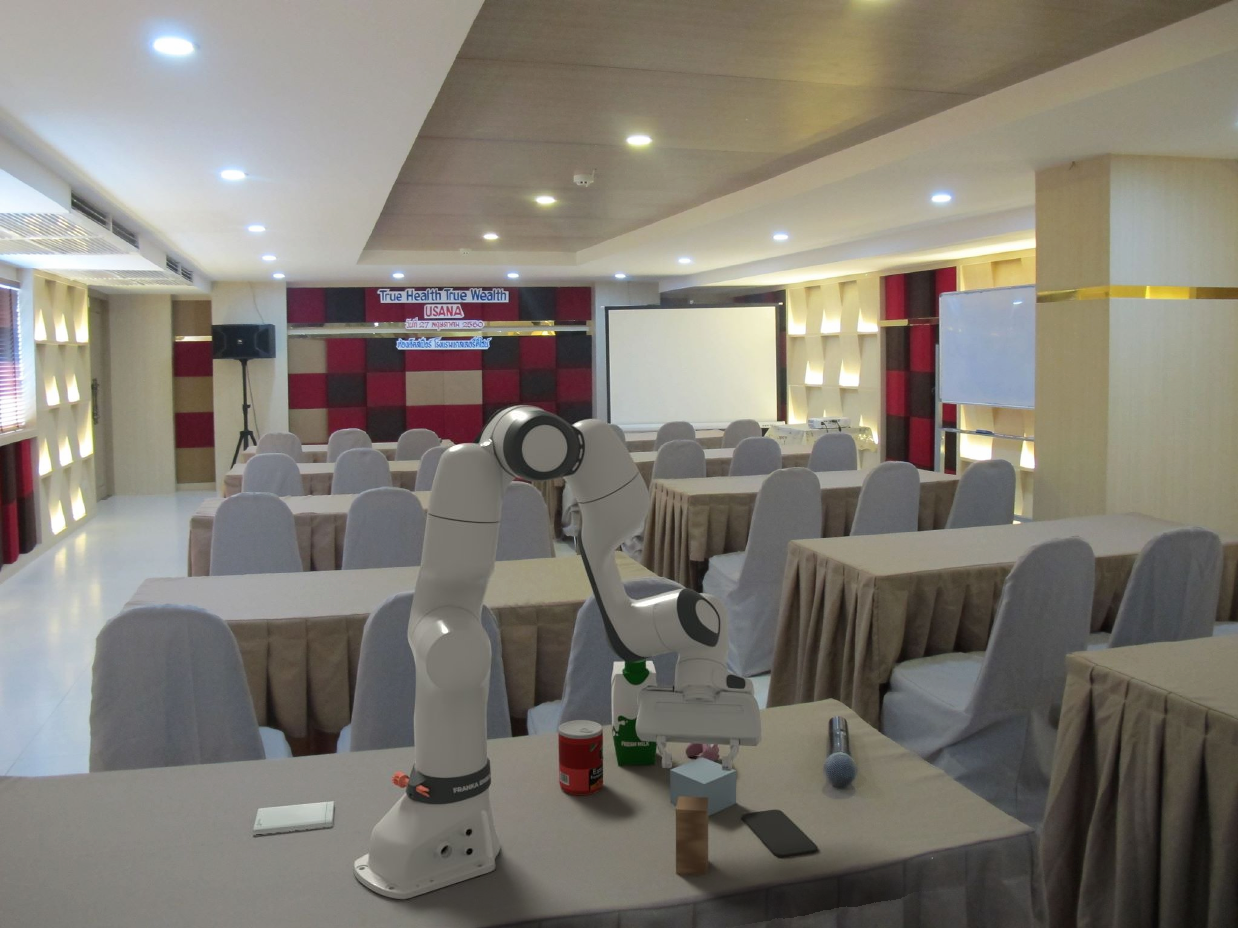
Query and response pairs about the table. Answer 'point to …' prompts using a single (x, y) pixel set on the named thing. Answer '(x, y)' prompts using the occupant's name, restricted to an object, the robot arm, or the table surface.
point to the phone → (779, 834)
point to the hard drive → (294, 817)
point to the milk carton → (630, 712)
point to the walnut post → (692, 835)
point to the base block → (704, 783)
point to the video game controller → (703, 751)
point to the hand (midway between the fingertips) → (696, 767)
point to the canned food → (580, 757)
